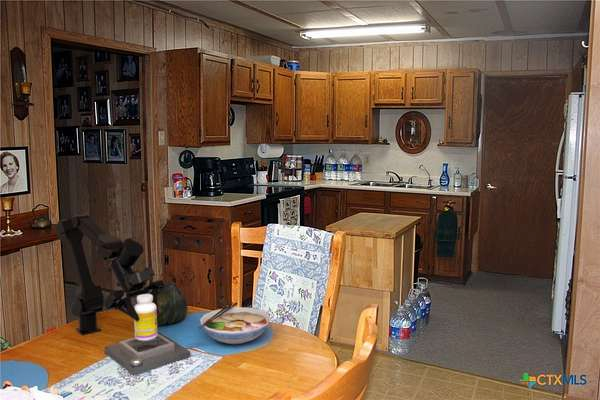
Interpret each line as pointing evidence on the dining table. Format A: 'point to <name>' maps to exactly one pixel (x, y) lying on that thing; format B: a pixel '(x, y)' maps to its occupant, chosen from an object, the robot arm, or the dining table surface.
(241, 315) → the ramen bowl
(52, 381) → the dining table surface
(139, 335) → the supplement bottle
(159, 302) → the squash
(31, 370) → the dining table surface
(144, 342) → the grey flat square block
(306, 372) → the dining table surface
